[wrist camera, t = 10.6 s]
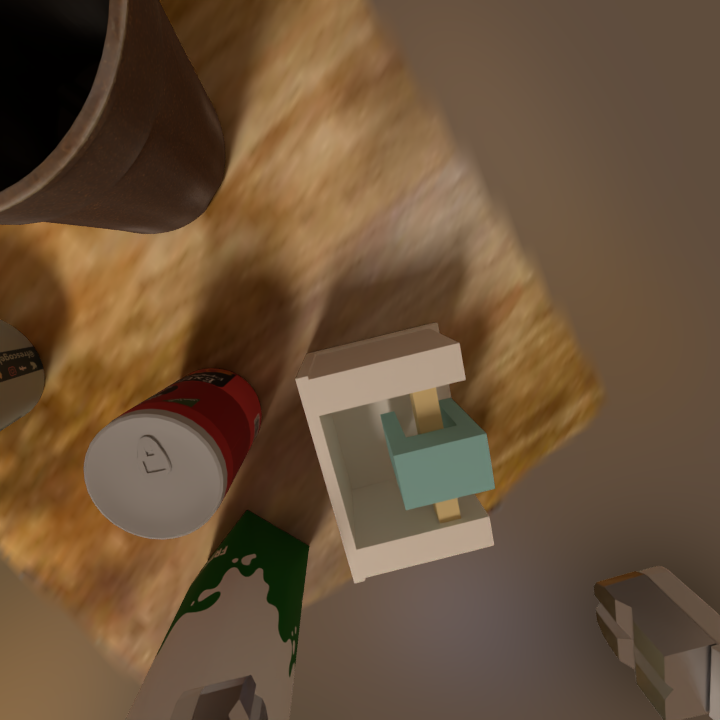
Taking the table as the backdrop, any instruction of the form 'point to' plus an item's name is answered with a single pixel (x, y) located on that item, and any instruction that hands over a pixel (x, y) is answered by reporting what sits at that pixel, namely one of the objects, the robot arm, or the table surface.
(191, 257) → the table surface
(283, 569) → the milk carton
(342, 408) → the shelf
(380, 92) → the table surface
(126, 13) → the plant pot
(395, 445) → the green slotted block
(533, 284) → the table surface
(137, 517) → the canned food
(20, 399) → the food container
